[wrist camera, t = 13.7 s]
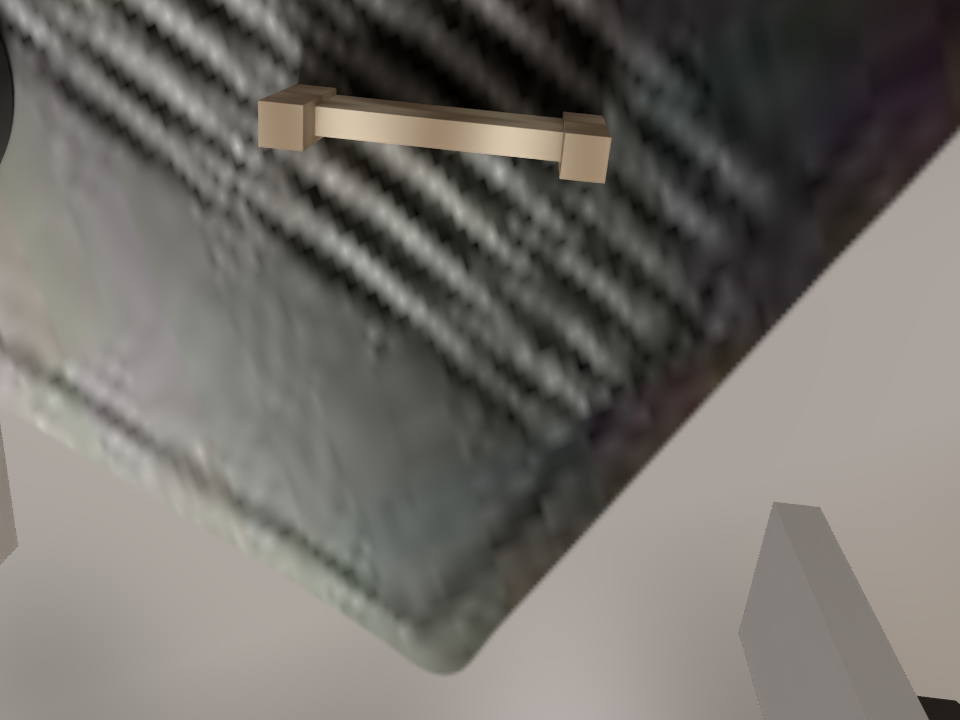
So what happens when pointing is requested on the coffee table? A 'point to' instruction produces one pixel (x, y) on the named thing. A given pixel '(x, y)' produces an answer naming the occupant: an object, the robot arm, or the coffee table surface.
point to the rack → (434, 129)
